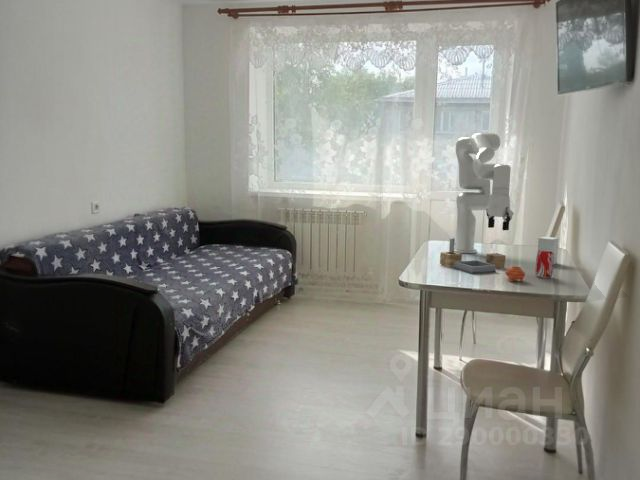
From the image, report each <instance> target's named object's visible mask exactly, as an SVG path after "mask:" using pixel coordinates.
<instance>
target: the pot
mask: <svg viewBox="0 0 640 480" xmlns="http://www.w3.org/2000/svg"><path fill="white" fill-rule="evenodd" d="M505 275H506V276H507V278H508V281H509V283H510V282H512V280H515V281H517V280H520V283H521V282H523V280H524V278H525V277H526V273H525V271H524V270H523V269H522V268H521V266H513V265H512V266H511V267H509V268H507V269H506V270H505Z"/></svg>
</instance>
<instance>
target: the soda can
mask: <svg viewBox="0 0 640 480" xmlns="http://www.w3.org/2000/svg"><path fill="white" fill-rule="evenodd" d="M535 259H536V260H535V271H534V272H535V276H537V277H538V278H541V279H549V278H551V277H553V271H554V264H553V262H554V253H553V250H551V249H539V251H538V250H537V252H536V258H535Z"/></svg>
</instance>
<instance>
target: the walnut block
mask: <svg viewBox="0 0 640 480" xmlns="http://www.w3.org/2000/svg"><path fill="white" fill-rule="evenodd" d="M485 256H486V257H485V262H486V263H489V264H493V265H496V270H497V269H505V268H506V267H505V266H506V254H502V253H498V252H493V253H486V255H485Z"/></svg>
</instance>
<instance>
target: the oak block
mask: <svg viewBox="0 0 640 480" xmlns="http://www.w3.org/2000/svg"><path fill="white" fill-rule="evenodd" d="M439 256H440V259H439V265H440V264H441V265H440V266H443V265H444V267H446V266H447V267H446V268H454V262H458V261H463V258H462V257H463V253H458V252H454V254H449V251H442V252H441V251H440V255H439Z"/></svg>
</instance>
